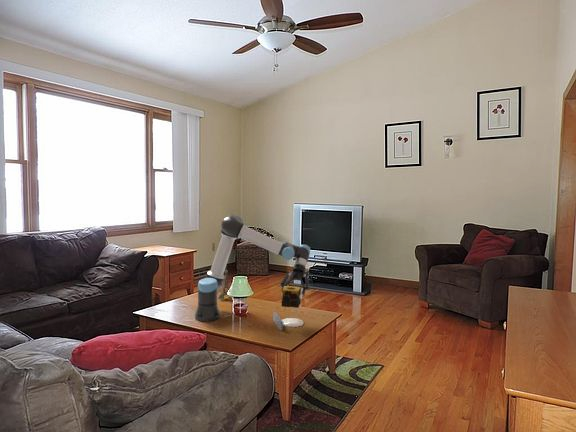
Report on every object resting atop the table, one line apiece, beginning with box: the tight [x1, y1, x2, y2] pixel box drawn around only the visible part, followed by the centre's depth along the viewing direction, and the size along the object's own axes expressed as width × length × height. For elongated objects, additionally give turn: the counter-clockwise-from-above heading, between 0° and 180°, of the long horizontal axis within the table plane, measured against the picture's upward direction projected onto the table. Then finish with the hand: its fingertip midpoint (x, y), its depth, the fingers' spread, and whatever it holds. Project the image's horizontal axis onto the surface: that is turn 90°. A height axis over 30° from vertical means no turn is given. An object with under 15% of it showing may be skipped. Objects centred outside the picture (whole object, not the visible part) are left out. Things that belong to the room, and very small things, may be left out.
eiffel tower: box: [217, 264, 233, 303], centre depth 286 cm, size 11×11×25 cm
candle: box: [280, 285, 302, 309], centre depth 236 cm, size 10×10×10 cm
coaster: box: [281, 317, 305, 328], centre depth 240 cm, size 14×14×1 cm
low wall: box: [272, 311, 284, 331], centre depth 236 cm, size 1×18×5 cm, turn 16°
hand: (291, 297), depth 236 cm, fingers closed on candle, 10 cm apart
